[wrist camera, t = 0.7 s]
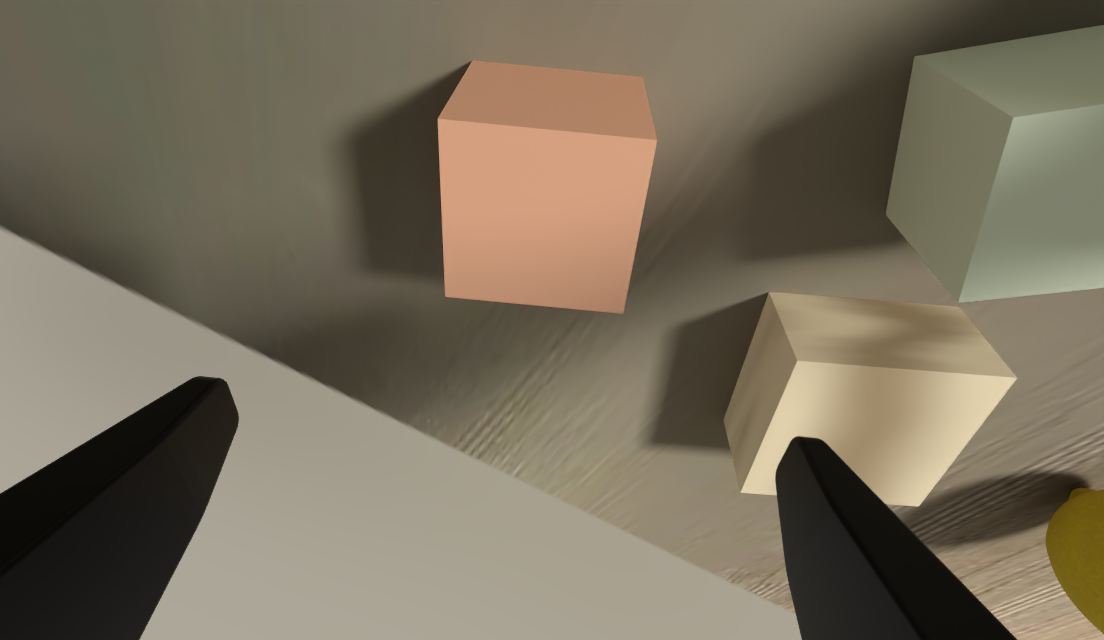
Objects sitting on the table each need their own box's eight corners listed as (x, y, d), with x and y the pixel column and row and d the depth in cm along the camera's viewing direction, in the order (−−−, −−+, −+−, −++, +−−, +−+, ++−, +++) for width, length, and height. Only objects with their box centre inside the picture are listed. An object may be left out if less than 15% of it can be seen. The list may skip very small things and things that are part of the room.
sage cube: (1113, 22, 16) (1287, 76, 12) (1051, 191, 19) (1173, 280, 15) (913, 55, 16) (1013, 117, 13) (884, 213, 19) (958, 302, 16)
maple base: (955, 303, 22) (1017, 377, 19) (879, 428, 26) (918, 506, 23) (767, 288, 22) (797, 360, 19) (722, 416, 26) (740, 492, 23)
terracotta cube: (642, 76, 17) (657, 140, 13) (617, 226, 20) (623, 313, 16) (472, 59, 17) (437, 118, 13) (473, 212, 20) (445, 296, 16)
